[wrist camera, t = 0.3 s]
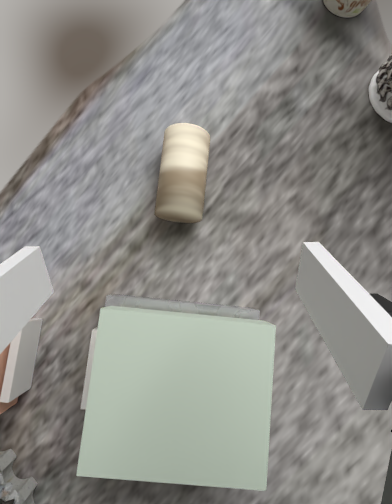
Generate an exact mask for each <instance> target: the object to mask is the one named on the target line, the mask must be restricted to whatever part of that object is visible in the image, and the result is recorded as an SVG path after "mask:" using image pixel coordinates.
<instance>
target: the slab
mask: <svg viewBox="0 0 392 504" xmlns="http://www.w3.org/2000/svg"><path fill="white" fill-rule="evenodd" d="M275 332H276V325H273V324H271V323H269V322H266V321H261V320H251V319H241V318H231V317H221V316H211V315H200V314H190V313H180V312H170V311H160V310H150V309H139V308H129V307H119V306H108V307H104V308H101V309H100V315H99V322H98V329H97V336H96V343H95V350H94V357H93V364H92V371H91V377H90V384H89V391H88V398H87V405H86V412H85V419H84V426H83V432H82V439H81V446H80V453H79V460H78V467H77V474H76V476H83V477H96V478H109V479H121V480H134V481H147V482H160V483H172V484H185V485H198V486H211V487H223V488H236V489H249V490H262V491H266V485H267V468H268V451H269V434H270V417H271V400H272V383H273V366H274V349H275Z"/></svg>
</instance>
